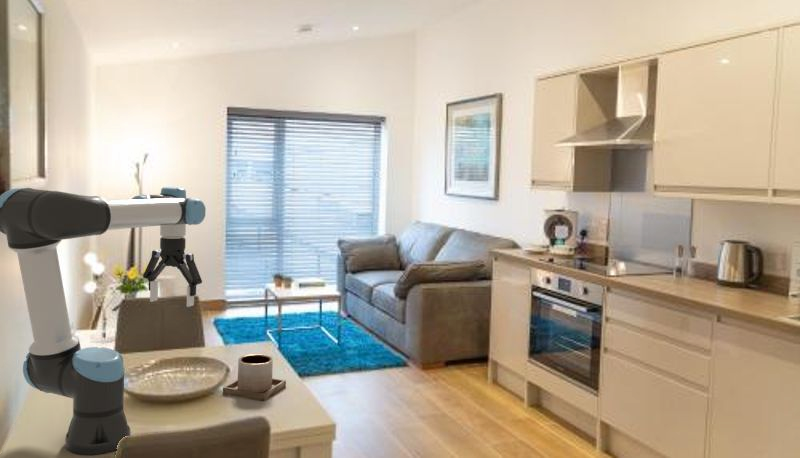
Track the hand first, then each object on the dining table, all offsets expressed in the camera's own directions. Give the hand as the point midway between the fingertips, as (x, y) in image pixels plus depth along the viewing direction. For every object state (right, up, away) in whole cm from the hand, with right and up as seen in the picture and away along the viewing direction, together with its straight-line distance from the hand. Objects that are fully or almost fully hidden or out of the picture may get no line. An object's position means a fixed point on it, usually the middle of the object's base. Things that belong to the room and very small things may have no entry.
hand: (171, 303), depth 207 cm
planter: (+26, -28, +2) cm, 38 cm away
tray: (+26, -28, +3) cm, 38 cm away
